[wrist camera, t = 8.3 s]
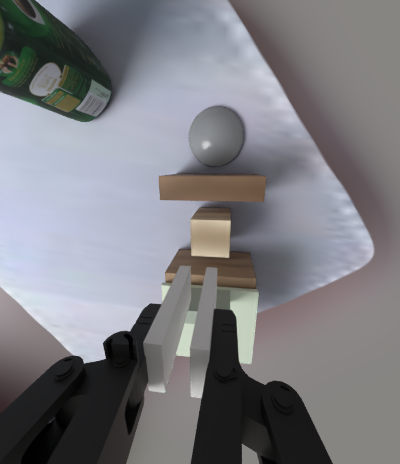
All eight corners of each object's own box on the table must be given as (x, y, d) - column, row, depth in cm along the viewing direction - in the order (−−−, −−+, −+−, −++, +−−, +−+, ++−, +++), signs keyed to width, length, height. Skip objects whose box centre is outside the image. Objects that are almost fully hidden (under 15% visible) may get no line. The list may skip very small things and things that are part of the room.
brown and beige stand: (176, 174, 28) (158, 176, 21) (256, 174, 27) (266, 176, 19) (180, 289, 34) (168, 321, 27) (246, 294, 32) (251, 330, 25)
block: (199, 207, 29) (190, 219, 22) (230, 208, 28) (230, 220, 22) (199, 236, 30) (191, 255, 24) (228, 237, 30) (229, 257, 23)
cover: (162, 282, 25) (148, 307, 20) (258, 289, 23) (265, 317, 19) (167, 350, 28) (156, 383, 24) (250, 360, 26) (255, 397, 22)
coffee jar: (36, 73, 26) (-345, -112, 9) (70, 21, 24) (-353, -371, 6) (87, 135, 28) (-148, 81, 10) (124, 92, 26) (-98, -70, 8)
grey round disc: (188, 108, 25) (188, 107, 25) (244, 106, 24) (245, 105, 24) (189, 166, 27) (189, 166, 27) (241, 166, 26) (241, 166, 26)
